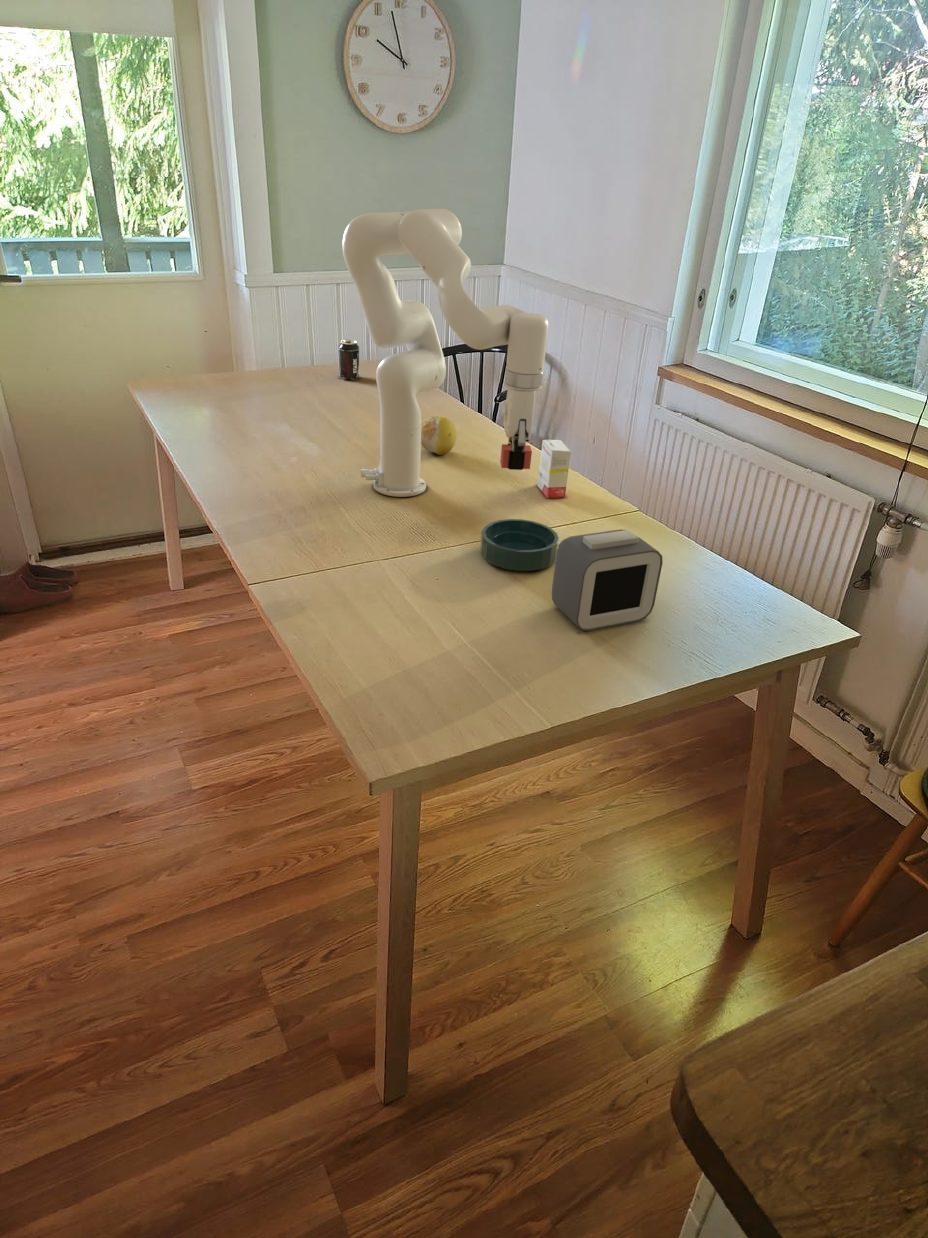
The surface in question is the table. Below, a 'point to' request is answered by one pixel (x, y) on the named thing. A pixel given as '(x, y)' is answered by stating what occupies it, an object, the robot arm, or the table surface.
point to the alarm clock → (605, 579)
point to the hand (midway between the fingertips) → (514, 464)
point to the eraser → (505, 456)
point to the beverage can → (348, 359)
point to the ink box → (553, 468)
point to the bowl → (519, 544)
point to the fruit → (438, 434)
